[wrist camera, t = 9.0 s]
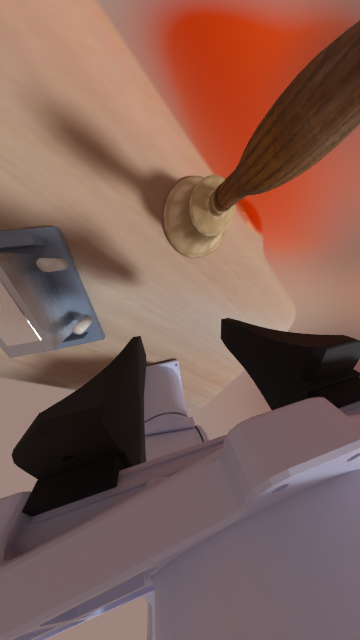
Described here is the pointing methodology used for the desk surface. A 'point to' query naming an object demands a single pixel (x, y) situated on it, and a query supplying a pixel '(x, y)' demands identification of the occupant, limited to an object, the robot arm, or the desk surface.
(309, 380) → the robot arm
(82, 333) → the grey peg stand
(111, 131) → the desk surface
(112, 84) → the desk surface
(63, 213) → the desk surface
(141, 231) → the desk surface
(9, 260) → the block
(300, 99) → the hand bell
